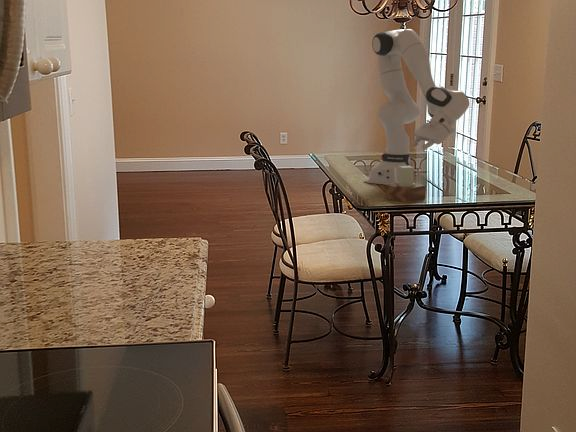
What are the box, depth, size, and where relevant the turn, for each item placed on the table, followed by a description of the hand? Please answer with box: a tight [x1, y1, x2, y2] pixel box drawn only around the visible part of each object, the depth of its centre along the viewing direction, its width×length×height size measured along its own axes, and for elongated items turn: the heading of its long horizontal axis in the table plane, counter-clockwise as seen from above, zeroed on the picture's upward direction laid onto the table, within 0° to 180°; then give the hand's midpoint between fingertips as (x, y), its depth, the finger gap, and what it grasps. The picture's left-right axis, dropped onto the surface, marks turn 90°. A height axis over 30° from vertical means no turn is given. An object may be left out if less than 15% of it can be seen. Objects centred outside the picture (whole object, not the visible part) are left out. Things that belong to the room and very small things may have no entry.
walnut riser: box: [385, 183, 427, 203], centre depth 304 cm, size 12×12×6 cm
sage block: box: [396, 165, 417, 187], centre depth 302 cm, size 6×6×8 cm
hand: (418, 147), depth 301 cm, fingers open, 8 cm apart
